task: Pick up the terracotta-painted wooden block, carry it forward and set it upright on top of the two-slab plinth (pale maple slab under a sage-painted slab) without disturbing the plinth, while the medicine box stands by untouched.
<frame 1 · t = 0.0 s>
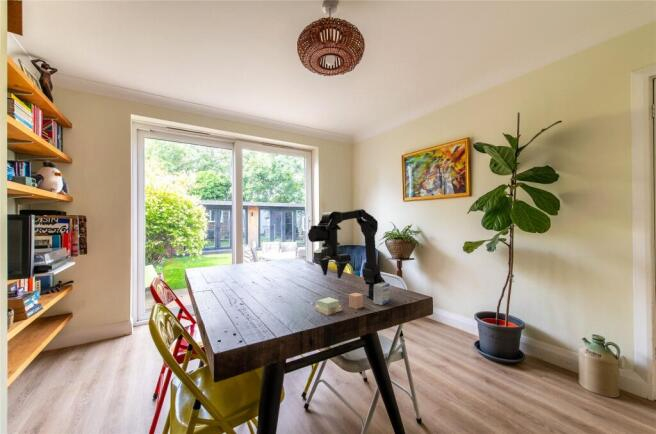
hand: (332, 276, 111), 15 cm above the table, fingers open, 9 cm apart
sage slab: (328, 306, 112), point 2 cm above the table, touching maple slab
maple slab: (328, 311, 112), on the table, touching sage slab
medicine box: (381, 302, 121), on the table, touching arm
terracotta block: (356, 306, 116), on the table
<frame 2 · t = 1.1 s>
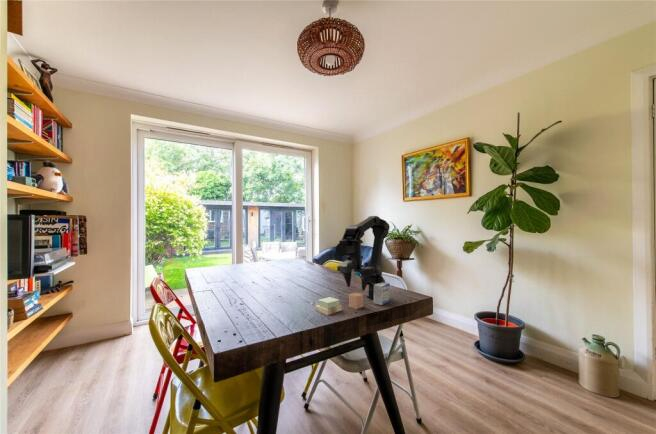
hand: (355, 288, 116), 8 cm above the table, fingers open, 9 cm apart
nothing on the table moved.
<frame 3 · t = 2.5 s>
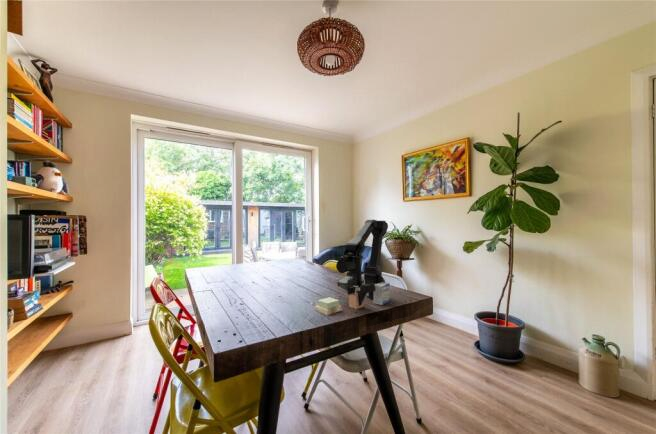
hand: (356, 304, 116), 1 cm above the table, fingers closed on terracotta block, 4 cm apart
sage slab: (328, 305, 112), point 2 cm above the table
maple slab: (328, 311, 112), on the table
terracotta block: (356, 306, 116), on the table, touching gripper
everything else where it was.
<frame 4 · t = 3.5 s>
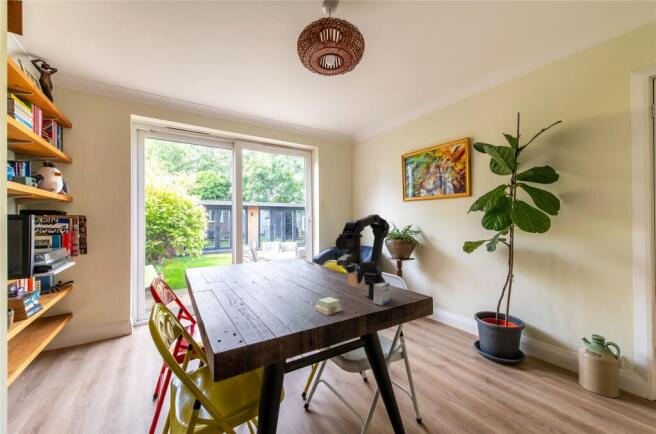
hand: (355, 282, 116), 11 cm above the table, fingers closed on terracotta block, 4 cm apart
sage slab: (328, 305, 112), point 2 cm above the table, touching maple slab
maple slab: (328, 311, 112), on the table, touching sage slab
terracotta block: (355, 285, 116), point 10 cm above the table, touching gripper
everything else where it was.
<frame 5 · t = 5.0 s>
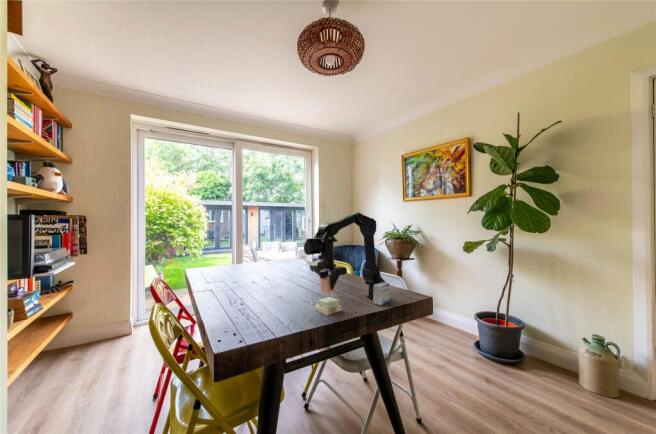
hand: (328, 288, 112), 9 cm above the table, fingers closed on terracotta block, 4 cm apart
terracotta block: (328, 291, 112), point 8 cm above the table, touching gripper
everything else where it was.
when the fingers open (7 cm above the table, at t = 5.6 s): terracotta block drops 2 cm, resting on sage slab.
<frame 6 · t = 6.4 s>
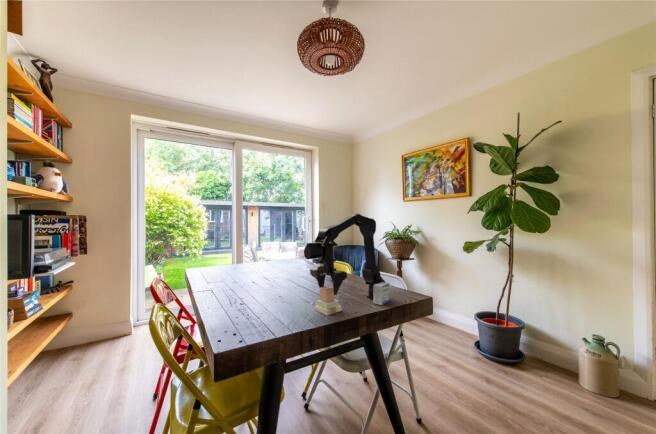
hand: (328, 292, 112), 7 cm above the table, fingers open, 9 cm apart
sage slab: (328, 306, 112), point 2 cm above the table, touching maple slab, terracotta block
terracotta block: (327, 300, 112), point 4 cm above the table, touching sage slab
everything else where it was.
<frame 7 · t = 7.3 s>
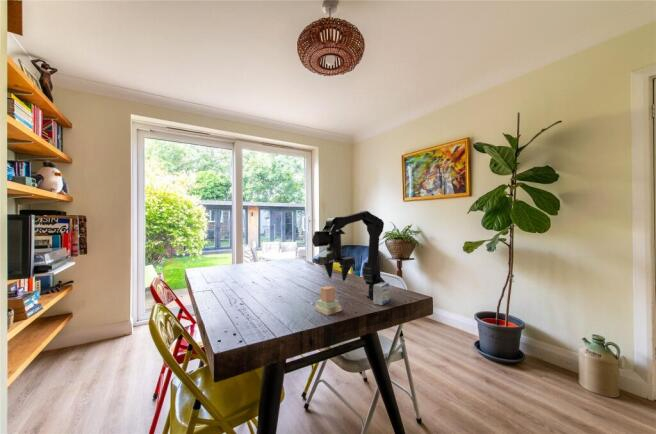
hand: (336, 279, 117), 12 cm above the table, fingers open, 9 cm apart
nothing on the table moved.
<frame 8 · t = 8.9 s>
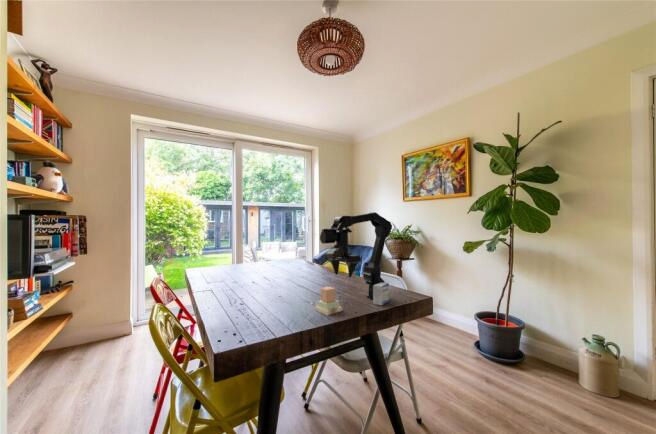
hand: (343, 275, 121), 13 cm above the table, fingers open, 9 cm apart
nothing on the table moved.
at the end: terracotta block inside the target area on the sage slab (0.2 cm from its centre), point 2.5 cm above the sage slab's base; terracotta block tilted 0°; terracotta block touching sage slab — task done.
